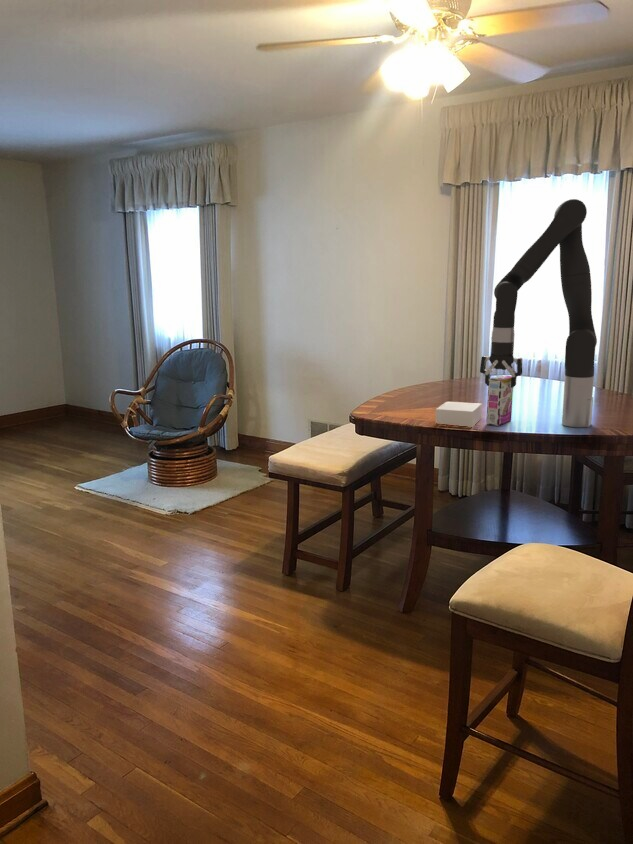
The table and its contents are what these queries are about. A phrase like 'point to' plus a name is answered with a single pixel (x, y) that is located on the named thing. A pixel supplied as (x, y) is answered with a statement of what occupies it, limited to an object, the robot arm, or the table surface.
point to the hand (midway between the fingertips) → (500, 386)
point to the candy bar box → (499, 400)
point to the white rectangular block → (459, 413)
